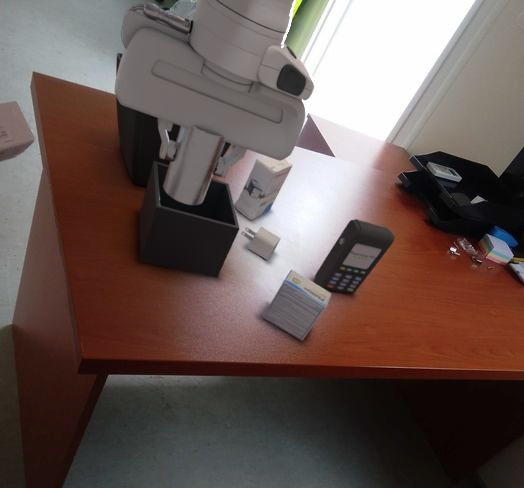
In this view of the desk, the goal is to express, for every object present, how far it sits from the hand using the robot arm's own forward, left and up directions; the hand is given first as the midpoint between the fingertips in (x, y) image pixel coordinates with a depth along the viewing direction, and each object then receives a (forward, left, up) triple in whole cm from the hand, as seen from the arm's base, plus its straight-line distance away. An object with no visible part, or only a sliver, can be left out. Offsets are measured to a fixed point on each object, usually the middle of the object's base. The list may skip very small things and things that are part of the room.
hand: (192, 166), depth 54 cm
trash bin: (+5, +14, -22) cm, 27 cm away
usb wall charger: (+21, +19, -22) cm, 36 cm away
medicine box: (+23, -1, -22) cm, 32 cm away
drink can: (0, 0, -4) cm, 4 cm away
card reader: (+37, +12, -22) cm, 45 cm away
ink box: (+23, +33, -22) cm, 46 cm away
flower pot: (+2, +37, -22) cm, 44 cm away
